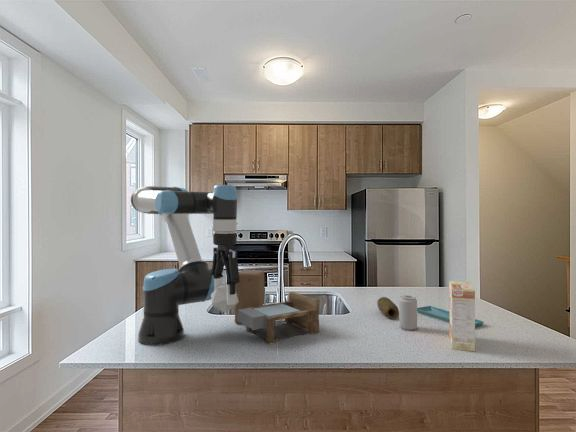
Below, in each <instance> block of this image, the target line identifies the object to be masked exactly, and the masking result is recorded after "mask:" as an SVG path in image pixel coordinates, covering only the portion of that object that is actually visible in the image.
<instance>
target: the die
mask: <svg viewBox="0 0 576 432" xmlns="http://www.w3.org/2000/svg"><path fill="white" fill-rule="evenodd" d="M210 301H211V304H212V306H213V308H214V309H215V310H216V311H218V312H222V313H225V314H226V313H228V312H229V311H231V310H232V309H233V308H235V305H236V304H237V303H238V302H239V301H238V297H237V293H236V304H232V305H227V284H224V283H223V285H221V286H219V287H217V288H216V289H215V290H214V292H213V293H212V294H211V300H210Z"/></svg>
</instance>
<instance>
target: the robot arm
mask: <svg viewBox="0 0 576 432" xmlns="http://www.w3.org/2000/svg"><path fill="white" fill-rule="evenodd" d="M130 204H131V206H132V208H134V210H135V211H137V212H139V213H142V214H147V215H148V214H149V215H160V216H161V219H162V221H164V222H166V224H167V227H168V231H169V234H170V238H171V242H172V244H173V248H174V252H175V254H176V258H177V261H178V264H179V268H178V269H177V268H168V269H167V268H165V269H159V270H156V271H152V272H149V273H147V274H146V275H145V276H144V279H143V286H142V291H143V319H142V321H141V324H140V327H139V331H138V335H137V336H138V337H137V338H138V339H137V341H138V342H139V343H141V344H145V345H151V346H152V345H156V346H157V345H165V344H170V343H175V342H177V341H180V340H181V339H183V338H184V336H185V335H184V334H185V330H184V329H185V328H184V325H183V323H182V320H181V317H180V315H179V313H180V312H179V311H180V310H179V307H180V306H181V305H188V304H189V305H190V304H195V303H203V302H207V301H212V300H211V294H212V293H213V292H214V290H215V289H216V288H217V287H219V286H221V285H223V284H224V275H223V272H224V268H225V274H226V278H227V282H225V285H227V305H232V304H236V284H237V283H239V282H240V280H239V272H240V271H239V264H238V261H239V260H238V251H237V250H234V249H233V246H234V245H237V242H238V241H237V237H238V236H237V233H236V232H237V225H238V222H237V221H238V220H237V218H238V217H237V216H238V215H237V214H238V194H237V187H236V186H235V185H232V184H216V185H214V186H213V191H188V190H187V189H186V188H184V187H178V186H174V187H173V186H171V187H170V186H154V185H152V186H151V185H146V186H142V187H138V188H137V189H136V190H134V191H133V193H131V196H130ZM195 214H196V215H213V217H212V218H213V219H212V220H213V222H212V232H214V233H213V235H212V236H213V237H212V240H213V245H215V246H217V247H213V256H212V266H211V268H209V266H208V263H207V262H208V261H205V260H203V259H202V257H201V253H200V250H199V247H198V244H197V242H196V238H195V235H194V233H193V229H192V227H191V223H190V221H189V217H188V216H189V215H195Z"/></svg>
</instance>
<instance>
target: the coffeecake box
mask: <svg viewBox="0 0 576 432" xmlns="http://www.w3.org/2000/svg"><path fill="white" fill-rule="evenodd" d="M448 283H449V285H448V286H449V287H448V289H449V297H448V300H449V302H448V303H449V307H448V308H449V310H448V311H449V322H448V323H449V331H448V332H449V335H448V336H449V342H450V346H451V349H452V350H458V351H465V352H466V351H467V352H476V327H475V319H476V290H475V288H474V286H473V284H472V282H470V281H464V280H463V281H462V280H449V281H448Z"/></svg>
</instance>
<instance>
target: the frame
mask: <svg viewBox="0 0 576 432" xmlns="http://www.w3.org/2000/svg"><path fill="white" fill-rule="evenodd" d="M288 293H289V294H288V299H289V300H285V301H282V302H276V303H269V304H264V305H262V306H256V307H248V308H251V309H254V308H260V307H266V306H272V305H278V304H284V305H287V306H290V307H292V308H295V309H298V310H300V312H295V313H289V314H284V315H279V316H273V317H268V316H266V327H264V328H259V329H254V330H253V329H251V328H249V327H248V326H246V325H245V331H246V332H248V333H251V332H252V333H254V334H255V335H258V336H259V337H261V338H263V339H265V341H266V343H267V344H269V345H272V344H275V341H278V340H279V341H280V340H283V339H288V338H292V337H296V336H301V335H307V334H309V335H316V334H319V333H320V299H318V298H317V299H316V298H314V297H312V296H307V295H304V294H301V293H297V292H295V291H289V292H288ZM280 320H284V323H282V324H277V325H275V322H277V321H280Z"/></svg>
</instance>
